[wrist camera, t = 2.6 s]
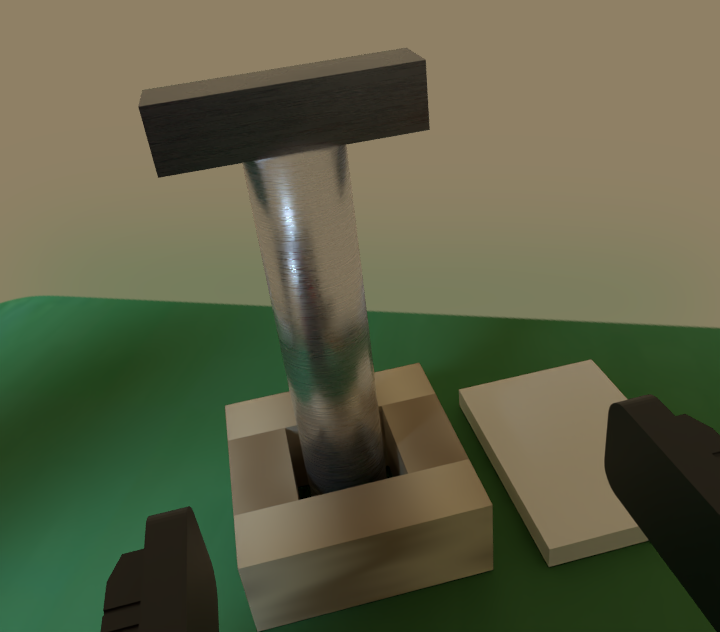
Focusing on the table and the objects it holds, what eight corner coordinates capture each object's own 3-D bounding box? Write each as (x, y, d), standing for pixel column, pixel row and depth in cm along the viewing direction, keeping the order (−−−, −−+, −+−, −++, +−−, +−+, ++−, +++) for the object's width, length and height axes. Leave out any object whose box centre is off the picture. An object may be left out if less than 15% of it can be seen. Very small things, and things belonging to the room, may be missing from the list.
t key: (263, 564, 27) (137, 112, 18) (256, 505, 30) (143, 85, 21) (455, 515, 28) (432, 63, 19) (431, 463, 31) (401, 44, 22)
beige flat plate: (548, 566, 26) (549, 549, 25) (459, 405, 34) (458, 389, 34) (717, 522, 27) (721, 504, 26) (590, 375, 35) (591, 359, 35)
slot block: (257, 631, 25) (238, 569, 23) (240, 462, 32) (225, 405, 31) (493, 569, 26) (492, 505, 24) (423, 420, 34) (419, 362, 32)
